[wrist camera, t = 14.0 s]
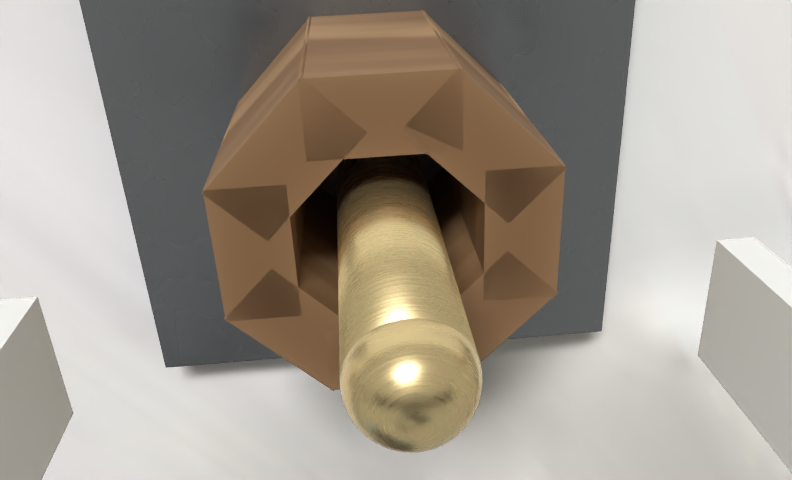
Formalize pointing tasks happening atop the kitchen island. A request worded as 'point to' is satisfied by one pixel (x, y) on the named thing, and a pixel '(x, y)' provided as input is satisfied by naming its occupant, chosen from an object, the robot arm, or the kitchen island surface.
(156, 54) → the stand
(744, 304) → the robot arm
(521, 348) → the kitchen island surface
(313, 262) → the bead
